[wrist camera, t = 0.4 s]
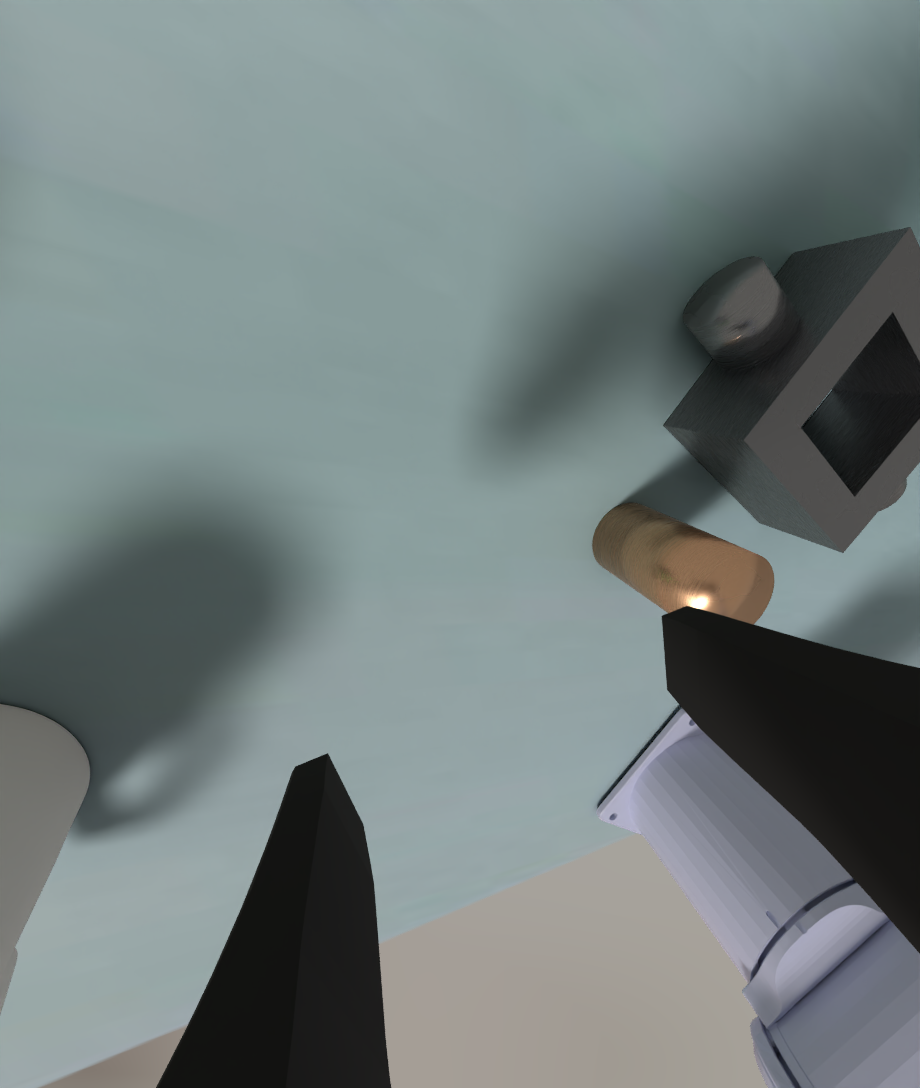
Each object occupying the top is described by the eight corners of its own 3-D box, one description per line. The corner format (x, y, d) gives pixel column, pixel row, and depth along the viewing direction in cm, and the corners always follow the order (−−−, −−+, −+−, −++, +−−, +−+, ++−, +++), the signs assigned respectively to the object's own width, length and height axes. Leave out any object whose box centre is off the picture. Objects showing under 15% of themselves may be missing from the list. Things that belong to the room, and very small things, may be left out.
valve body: (893, 414, 23) (1001, 424, 19) (783, 547, 24) (867, 580, 20) (761, 201, 17) (879, 160, 14) (626, 387, 18) (703, 394, 15)
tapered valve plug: (668, 526, 21) (789, 581, 16) (624, 583, 22) (728, 655, 16) (624, 488, 20) (741, 535, 15) (578, 549, 20) (675, 617, 15)
